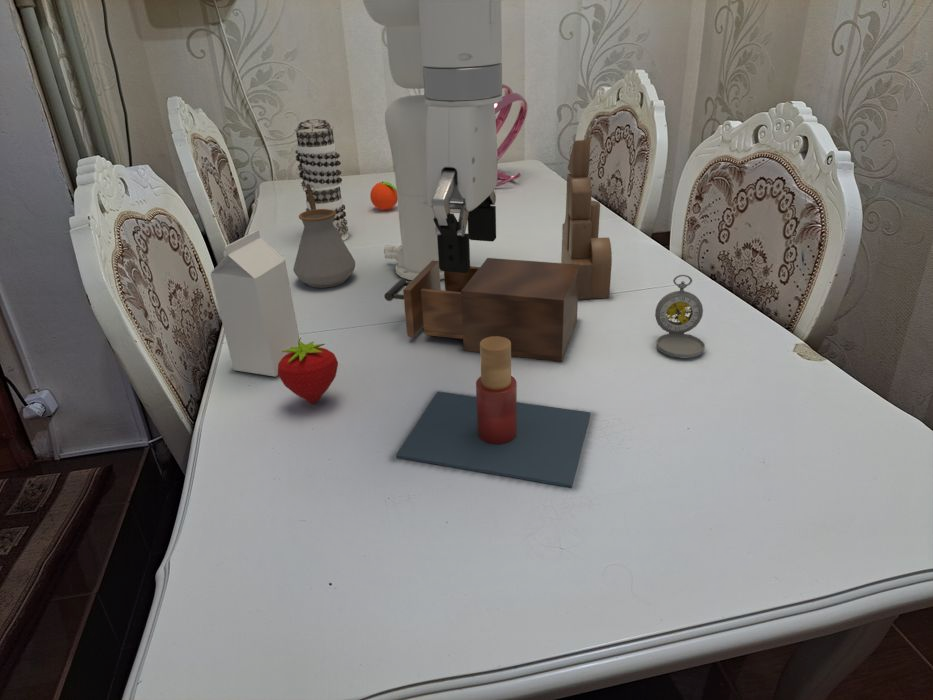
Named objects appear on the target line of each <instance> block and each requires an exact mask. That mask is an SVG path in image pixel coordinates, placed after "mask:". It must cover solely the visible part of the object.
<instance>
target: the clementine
mask: <svg viewBox="0 0 933 700" xmlns="http://www.w3.org/2000/svg"><path fill="white" fill-rule="evenodd" d="M369 196H370V197H369V198H370V201H371V203H372V205H373V206H374V207H375V208H376V209H378V210H381V211H388V210H391V209H393V208H394V207H395V206H396V204H398V200H397V189H396V186H394V185H393V183H390V182H388V181H380V182H377V183H376V184H375V185H373V187H372V188H371V190H370V193H369Z"/></svg>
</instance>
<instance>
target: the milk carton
mask: <svg viewBox="0 0 933 700" xmlns="http://www.w3.org/2000/svg"><path fill="white" fill-rule="evenodd" d="M224 249H225V250H224V251H223V252H222V255H223V256H224V257H223V258H222V259H221V261H220V262H219V263H218V264H217V265H216V266H215V267H214V269H213V270H212V271H211V272H210V278H211V283H212V286H213V290H214V294H215V299H216V303H217V307H218V311H219V315H220V319H221V324H222V328H223V332H224V336H225V340H226V343H227V348H228V352H229V357H230V360H231V364H232V369H233V371H237V372H243V373H249V374H256V375H262V376H269V377H275V378H276V377H277V376H279V375H278V363H279V362H280V361H281V359H282V358H283V357H284V356H285V355H286V354H288V353H290V352H282V351H283V350H288V349H290V347H298V342H299V339H300V338H301V337H300V333H299V329H298V328H299V327H298V323H297V322H298V321H297V317H296V310H295V306H294V301H293V295H292V290H291V285H290V284H291V283H290V278H289V273H288V268H287V262H286V258H284V256H283V255H281V254H280V253H278V251H276V250H275V249H274V248H273V247H272V246H271V245H269V244H268V243H267V242H266V241H265V240H264V239H263V238H262V237H261V234H260V230H259V229H257V230H255V231H253V232H251V233H249V234H247V235H245V236H243V237H240V238H239V239H237V240H235V241H233V242H231V243H229V244H227V245H225V246H224ZM300 340H301V339H300Z"/></svg>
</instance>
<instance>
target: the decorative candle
mask: <svg viewBox="0 0 933 700" xmlns="http://www.w3.org/2000/svg"><path fill="white" fill-rule="evenodd" d="M333 129H335V127H334V126H332V125H331V124H330V123H329V121H327V120H326V119H320V118H319V119H318V118H317V119H315V118H314V119H306V120H302V121H300V122H299V123H298V125H297V128H296V129H294V132H295V135H296V142H297V146H296V147H297V150H294V153H295V154H296V155H295V160H296V161H297V162H298V163H299V164H298V165H297V168H298V169H297V170H298V171H299V173H298V174H299V178H300V179H302V182H301V188H303V187H304V186H305V185H307V184H309V185H313V186H314V187H315V189H314V187H313V186H311V189H312V190H314V191H313V193H312V194H313V196H314V198H315V205H316V209H329V210H333V211H336V212H337V213H336V215H335V217H334V220H333V225H334V227H335V228H336V230H337V232H338V233H339V235H340V237H341V238H342V240H343V241H346V240H347V239H348V238H349V233H348V231H349V227H348V226H347V225H348V220H347V219H346V218H345V217H347V212H346V211H344V210H346V205H345V204H344V202H343V196H342V192H341V186H342V181H343V179H342V177H340V176H341V175H342V171H341V170H339V169H338V167H339V166H340V165H341V164H342V162H341V161H340V160H338V159H339V158H340V157H341V154H339V153H338V152H336V149H337V148H336V142H335V139H334V138H335V137H334V132H333ZM306 190H307V188H306V186H305V187H304V192H305V191H306ZM305 198H306V200H305V204H306V208H305V211H309V210H311V207H310V204H309V201H308V194H307V192H305Z"/></svg>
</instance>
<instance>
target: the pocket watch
mask: <svg viewBox="0 0 933 700" xmlns="http://www.w3.org/2000/svg"><path fill="white" fill-rule="evenodd" d="M681 277H685V278H688V280H689V282H688V283H686V282H685V281H683V280H682V281H680V283H679V284H678V283H677V281H676V280H677V279H678V278H681ZM672 282H673V284H674V285H676V286H677V288H679V290H675V291H672V292H669V293H667V294H666V295H664V296H663V297H662V298H661V299H660V300H659V301H658V303H657V304H656V307H655V314H654V317H655V320H656V323H657V325H658V326H659V327H660V328H661V329H662V330H663V331H665V332H666V334H665V333H664V334H662V335H660V336H659V337H657V339H656V348H657V350H659V351H660V352H661V353H663V354H664V355H667V356H670V357H675V358H679V359H680V358H681V359H690V358H696V357H698V356H700V355H702V354H703V353H704V351H705V348H706V345H705V342H704V341H703V340H702V339H701V338H698V337H697V336H694V335H691V334H687V332H689V331H692V330H693V329H694V328H696V327H697V326H698V325H699V323H700V322H701V320H702V318H703V314H704V308H703V303H702V302H701V300H700V299H699V297H697V296H696V295H695V294H694V293H692V292H689V291H685V289H686V288H687V287H688V286H690V285H691V284H692V283H693V279H692V277H691V276H689V275H686V274H679V275H677V276H675V277H674V278H673V280H672ZM688 314H689V315H688ZM687 315H688V316H687Z"/></svg>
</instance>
